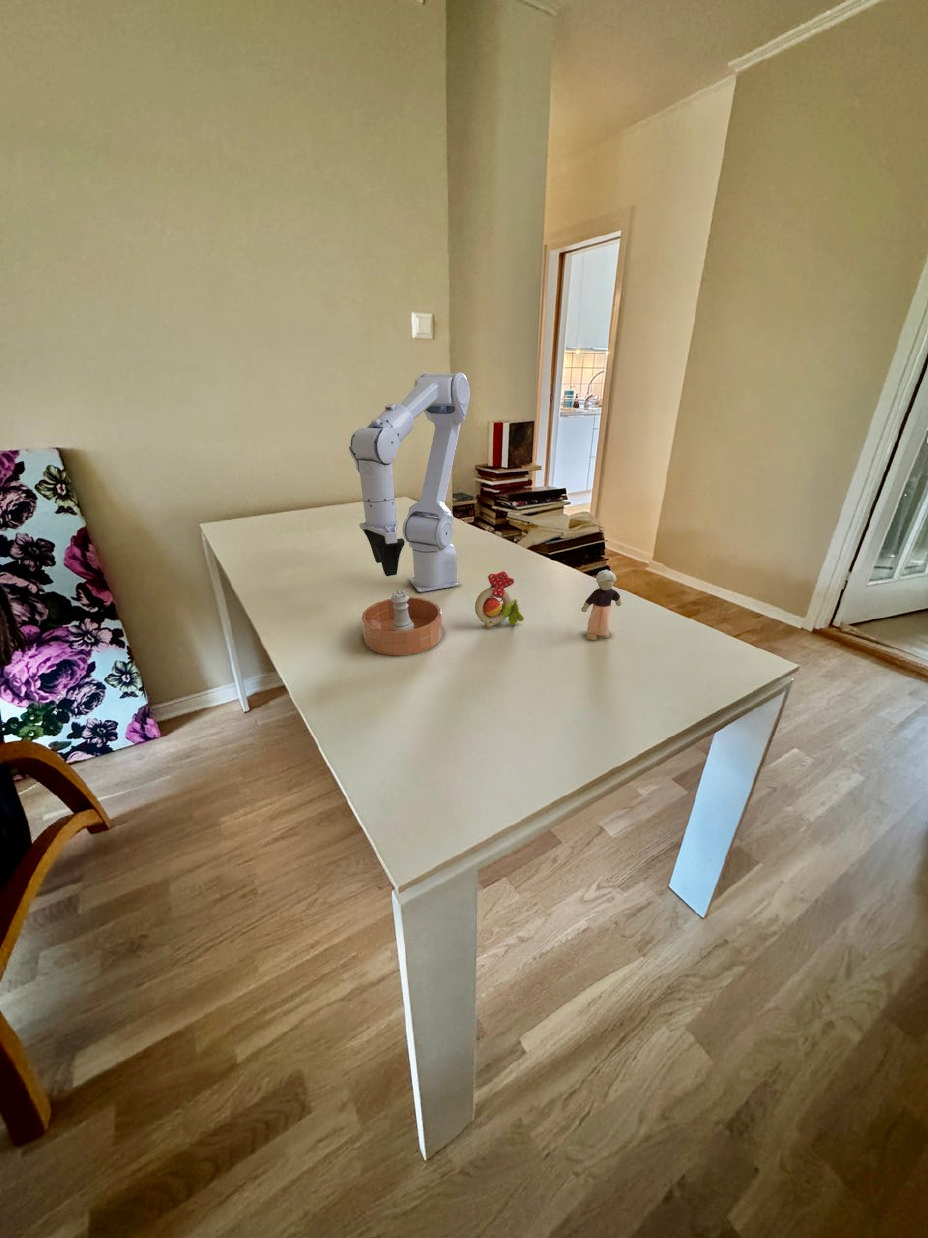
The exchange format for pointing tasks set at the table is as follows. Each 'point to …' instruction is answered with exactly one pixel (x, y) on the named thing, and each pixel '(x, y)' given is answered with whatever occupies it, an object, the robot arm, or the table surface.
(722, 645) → the table surface
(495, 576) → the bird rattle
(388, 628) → the pan
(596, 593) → the grandmother figurine
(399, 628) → the rook chess piece
